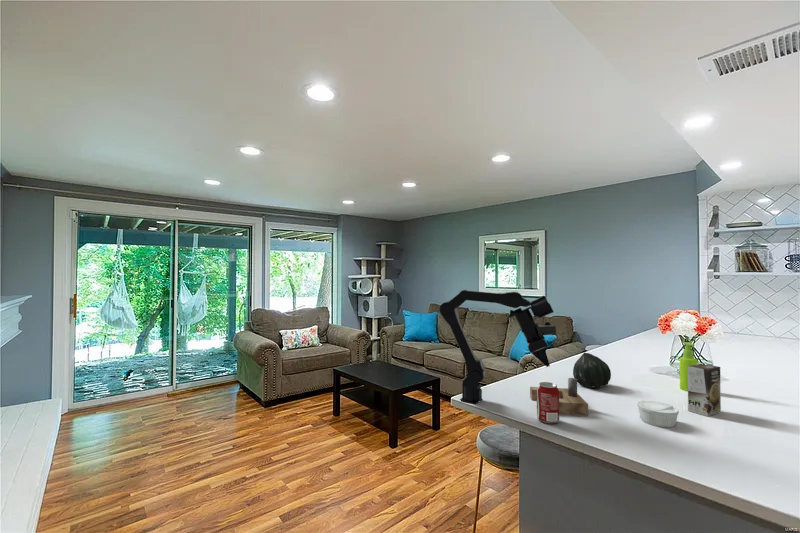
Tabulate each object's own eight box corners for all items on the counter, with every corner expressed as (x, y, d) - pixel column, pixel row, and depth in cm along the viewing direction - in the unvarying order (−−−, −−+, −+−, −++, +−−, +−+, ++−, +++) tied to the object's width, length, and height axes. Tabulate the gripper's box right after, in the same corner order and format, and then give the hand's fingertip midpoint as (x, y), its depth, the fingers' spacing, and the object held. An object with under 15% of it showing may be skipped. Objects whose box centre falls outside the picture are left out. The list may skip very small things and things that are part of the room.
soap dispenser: (683, 391, 155) (682, 343, 156) (678, 387, 162) (677, 340, 162) (700, 393, 153) (700, 344, 154) (694, 388, 160) (694, 341, 160)
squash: (624, 375, 159) (599, 345, 167) (606, 382, 150) (581, 350, 159) (599, 391, 168) (577, 362, 176) (581, 399, 159) (559, 367, 168)
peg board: (539, 412, 131) (539, 383, 131) (530, 396, 148) (530, 371, 148) (587, 415, 128) (587, 386, 128) (573, 399, 145) (573, 373, 145)
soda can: (561, 426, 119) (561, 388, 120) (539, 424, 121) (538, 386, 121) (556, 418, 126) (556, 382, 126) (535, 416, 127) (535, 380, 127)
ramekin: (680, 432, 115) (680, 415, 115) (637, 424, 121) (637, 407, 121) (676, 420, 125) (676, 404, 125) (637, 413, 131) (637, 398, 131)
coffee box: (708, 417, 128) (708, 369, 128) (687, 410, 133) (686, 365, 134) (721, 412, 132) (721, 366, 132) (700, 406, 138) (700, 362, 138)
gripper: (550, 317, 126) (572, 360, 124) (546, 312, 144) (566, 349, 142) (519, 330, 129) (540, 373, 127) (519, 323, 147) (538, 361, 145)
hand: (547, 363), depth 135 cm, fingers open, 9 cm apart
